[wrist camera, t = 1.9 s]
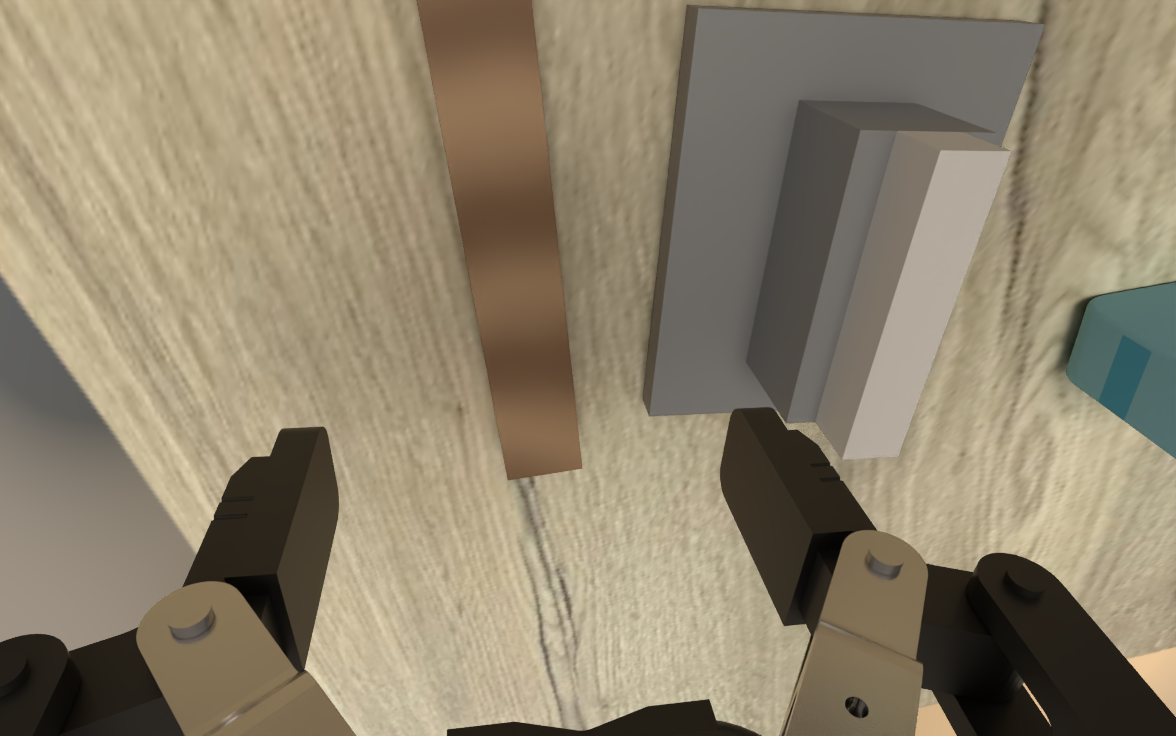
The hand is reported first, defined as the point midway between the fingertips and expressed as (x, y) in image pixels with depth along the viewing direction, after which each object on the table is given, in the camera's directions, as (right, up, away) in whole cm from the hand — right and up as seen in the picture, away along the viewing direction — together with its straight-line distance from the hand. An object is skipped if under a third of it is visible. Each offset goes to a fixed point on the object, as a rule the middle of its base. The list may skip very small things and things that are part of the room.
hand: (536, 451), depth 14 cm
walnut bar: (-3, +9, +15) cm, 18 cm away
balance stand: (+11, +8, +18) cm, 22 cm away
